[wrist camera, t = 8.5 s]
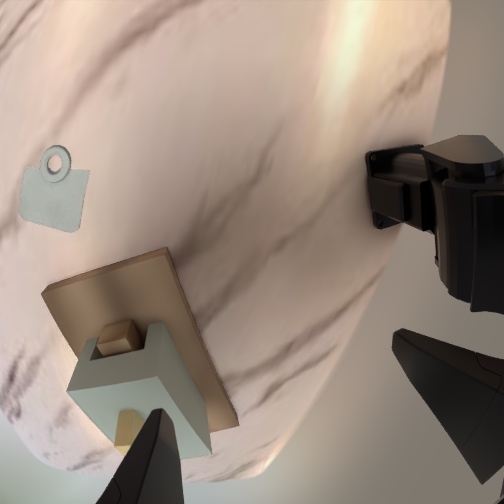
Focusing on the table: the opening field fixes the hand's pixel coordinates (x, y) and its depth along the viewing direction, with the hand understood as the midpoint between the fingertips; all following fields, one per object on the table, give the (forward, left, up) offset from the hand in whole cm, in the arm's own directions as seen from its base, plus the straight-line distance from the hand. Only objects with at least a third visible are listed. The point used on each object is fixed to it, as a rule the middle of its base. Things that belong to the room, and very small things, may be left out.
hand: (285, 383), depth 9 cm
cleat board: (+10, +8, -13) cm, 18 cm away
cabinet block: (+10, +8, -12) cm, 17 cm away
